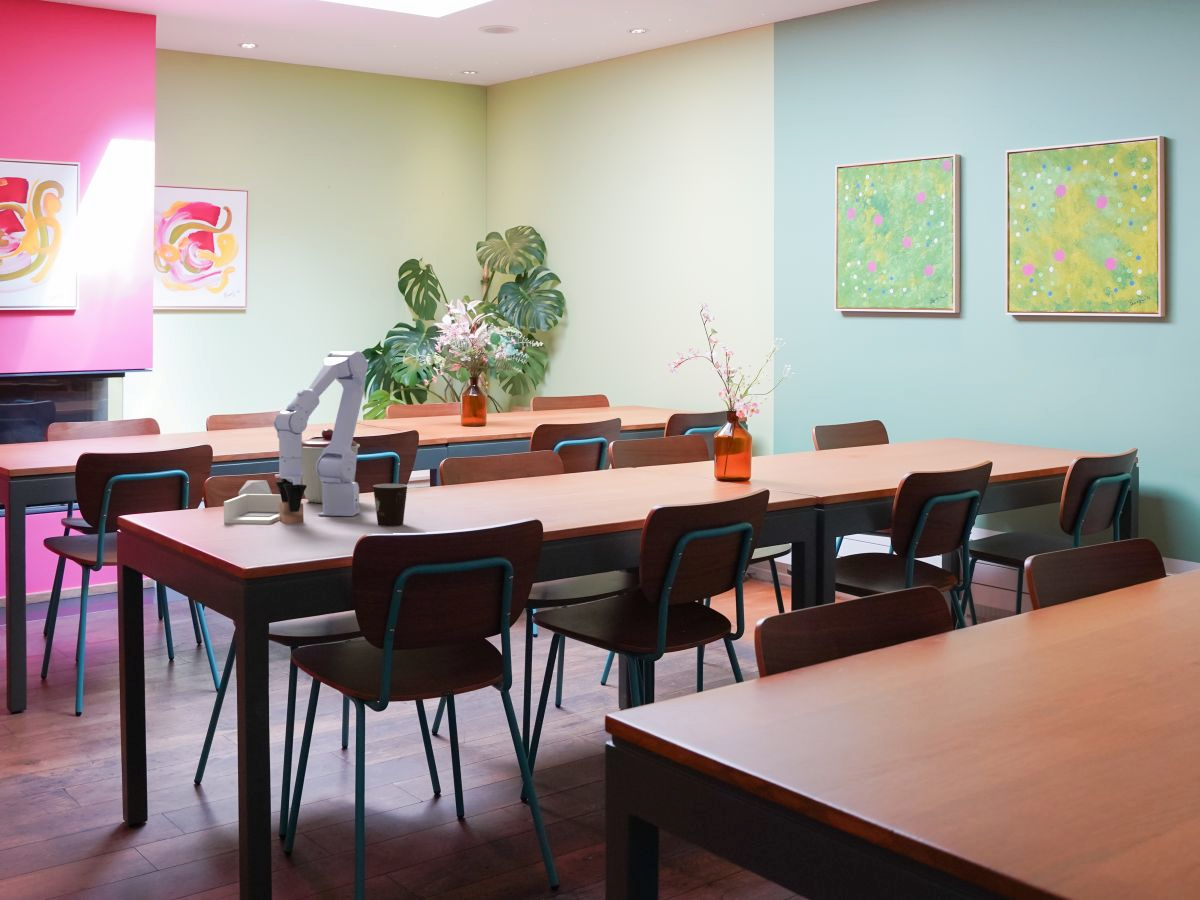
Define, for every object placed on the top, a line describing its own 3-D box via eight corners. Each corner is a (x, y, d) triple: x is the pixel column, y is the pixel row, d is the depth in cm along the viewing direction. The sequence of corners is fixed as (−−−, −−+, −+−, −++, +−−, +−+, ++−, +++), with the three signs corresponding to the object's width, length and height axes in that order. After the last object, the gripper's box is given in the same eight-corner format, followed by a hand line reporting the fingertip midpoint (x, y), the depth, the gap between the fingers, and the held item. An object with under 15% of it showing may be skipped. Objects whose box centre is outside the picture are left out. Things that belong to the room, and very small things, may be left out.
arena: (289, 515, 336) (288, 494, 335) (270, 524, 320) (269, 502, 319) (245, 514, 336) (244, 493, 336) (224, 523, 320) (223, 501, 320)
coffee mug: (375, 522, 325) (374, 483, 324) (408, 521, 326) (408, 483, 325) (370, 529, 313) (370, 489, 312) (405, 528, 314) (405, 489, 313)
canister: (370, 503, 361) (370, 430, 359) (310, 507, 351) (309, 432, 349) (345, 496, 376) (345, 425, 374) (287, 500, 366) (286, 427, 364)
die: (254, 515, 339) (276, 485, 341) (227, 498, 340) (249, 468, 343) (262, 522, 347) (283, 492, 350) (235, 505, 348) (257, 475, 351)
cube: (298, 520, 328) (298, 501, 327) (303, 522, 323) (303, 503, 323) (279, 521, 326) (279, 502, 325) (284, 523, 321) (283, 504, 321)
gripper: (268, 455, 328) (269, 506, 329) (281, 460, 315) (281, 514, 316) (295, 454, 331) (296, 505, 332) (309, 459, 318) (309, 512, 319)
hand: (291, 509), depth 324 cm, fingers open, 7 cm apart
